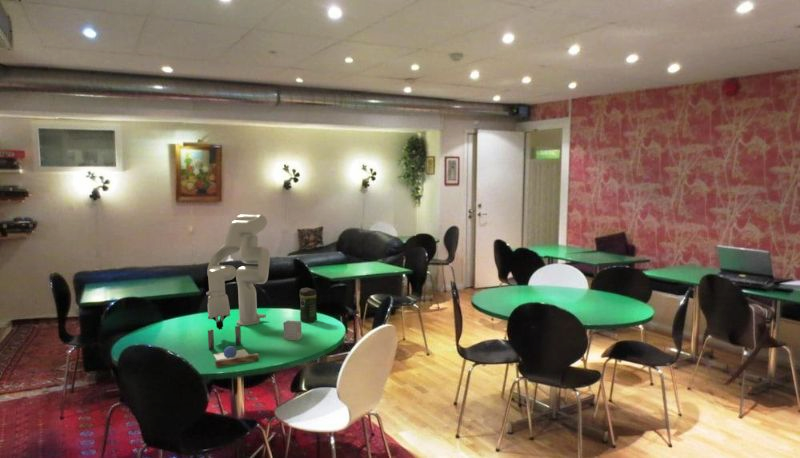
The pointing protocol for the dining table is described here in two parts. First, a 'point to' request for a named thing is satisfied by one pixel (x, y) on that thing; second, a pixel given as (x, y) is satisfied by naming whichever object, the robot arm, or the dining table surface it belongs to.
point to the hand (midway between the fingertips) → (219, 328)
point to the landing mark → (239, 353)
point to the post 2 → (238, 335)
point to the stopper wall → (236, 360)
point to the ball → (230, 352)
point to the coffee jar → (308, 305)
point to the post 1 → (211, 339)
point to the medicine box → (292, 330)
